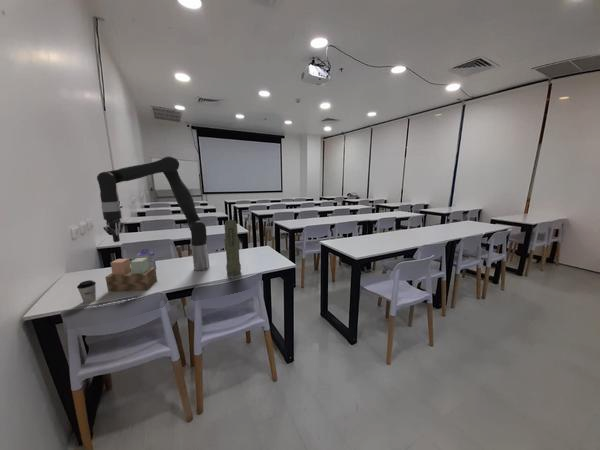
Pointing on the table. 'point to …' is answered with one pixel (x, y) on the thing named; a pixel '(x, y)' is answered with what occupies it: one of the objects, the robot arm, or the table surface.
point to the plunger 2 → (139, 265)
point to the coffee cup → (87, 291)
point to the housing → (131, 281)
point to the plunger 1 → (120, 266)
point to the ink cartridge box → (148, 255)
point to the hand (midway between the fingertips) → (116, 241)
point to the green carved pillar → (232, 248)
